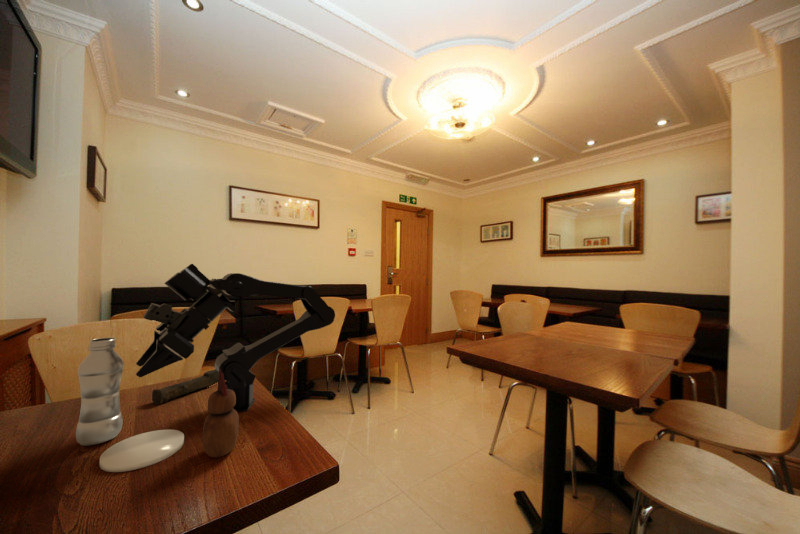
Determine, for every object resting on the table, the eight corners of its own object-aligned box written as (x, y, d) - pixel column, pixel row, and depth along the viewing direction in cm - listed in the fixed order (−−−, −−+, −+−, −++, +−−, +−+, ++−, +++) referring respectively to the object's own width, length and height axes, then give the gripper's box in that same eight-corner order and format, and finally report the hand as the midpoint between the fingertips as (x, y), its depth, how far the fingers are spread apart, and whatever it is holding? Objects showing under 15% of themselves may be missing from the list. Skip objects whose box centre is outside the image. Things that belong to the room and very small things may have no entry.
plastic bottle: (129, 436, 62) (132, 337, 62) (83, 454, 56) (87, 344, 56) (113, 429, 64) (116, 334, 65) (68, 445, 58) (72, 341, 59)
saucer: (195, 432, 64) (196, 427, 64) (160, 468, 52) (160, 462, 52) (131, 436, 62) (131, 431, 62) (79, 475, 50) (79, 469, 50)
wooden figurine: (206, 445, 59) (208, 367, 59) (239, 439, 61) (241, 364, 62) (198, 465, 53) (201, 378, 53) (236, 458, 55) (238, 374, 55)
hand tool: (158, 407, 76) (159, 388, 76) (150, 403, 78) (151, 385, 78) (230, 383, 93) (230, 368, 93) (221, 381, 95) (222, 366, 95)
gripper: (169, 288, 75) (104, 339, 67) (176, 292, 61) (96, 356, 53) (205, 317, 80) (149, 368, 72) (220, 327, 66) (152, 391, 58)
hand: (137, 370), depth 64 cm, fingers open, 9 cm apart
